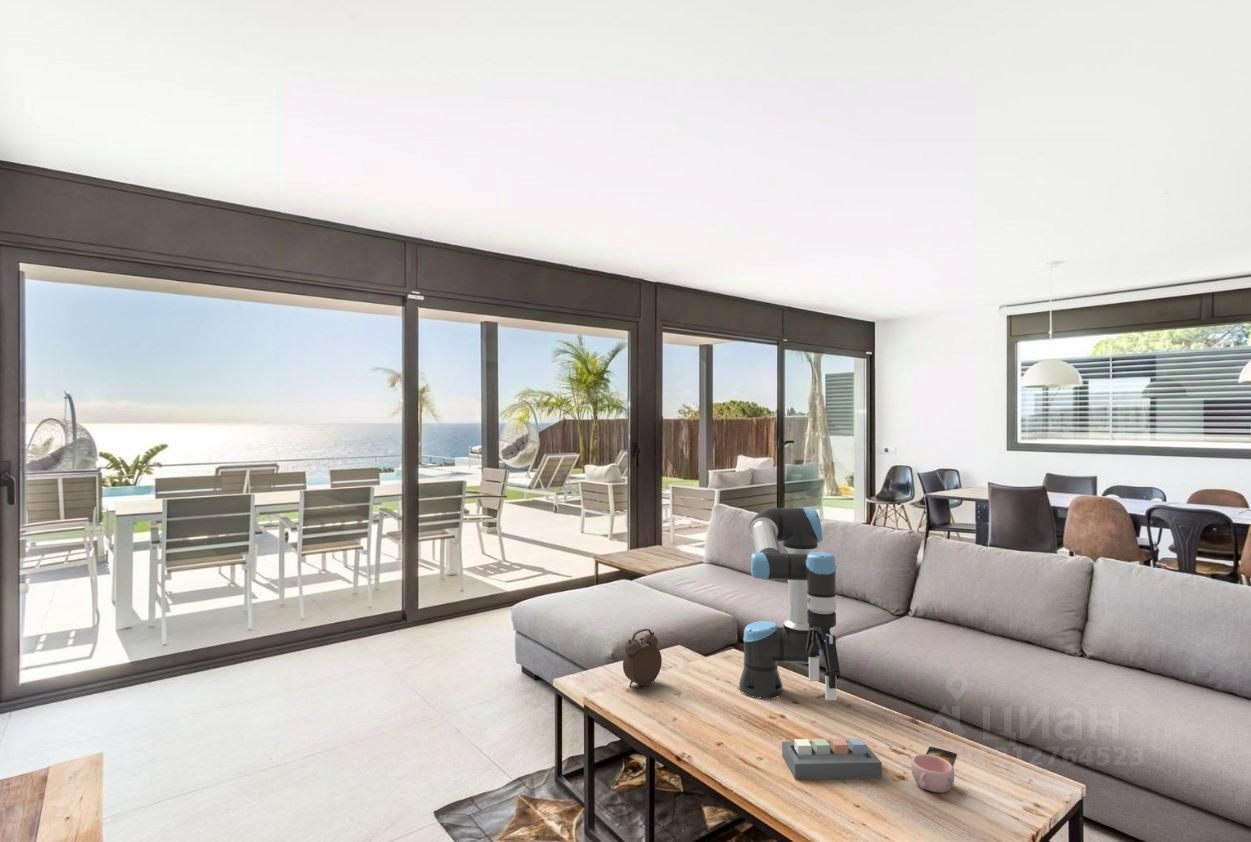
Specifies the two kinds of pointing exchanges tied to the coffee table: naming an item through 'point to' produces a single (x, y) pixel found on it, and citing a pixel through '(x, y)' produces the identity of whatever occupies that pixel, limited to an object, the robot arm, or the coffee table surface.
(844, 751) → the key
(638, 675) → the alarm clock
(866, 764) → the gray rectangular tray
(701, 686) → the coffee table surface
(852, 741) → the key
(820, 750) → the key
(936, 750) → the smartphone
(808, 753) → the key
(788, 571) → the robot arm
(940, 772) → the mug
